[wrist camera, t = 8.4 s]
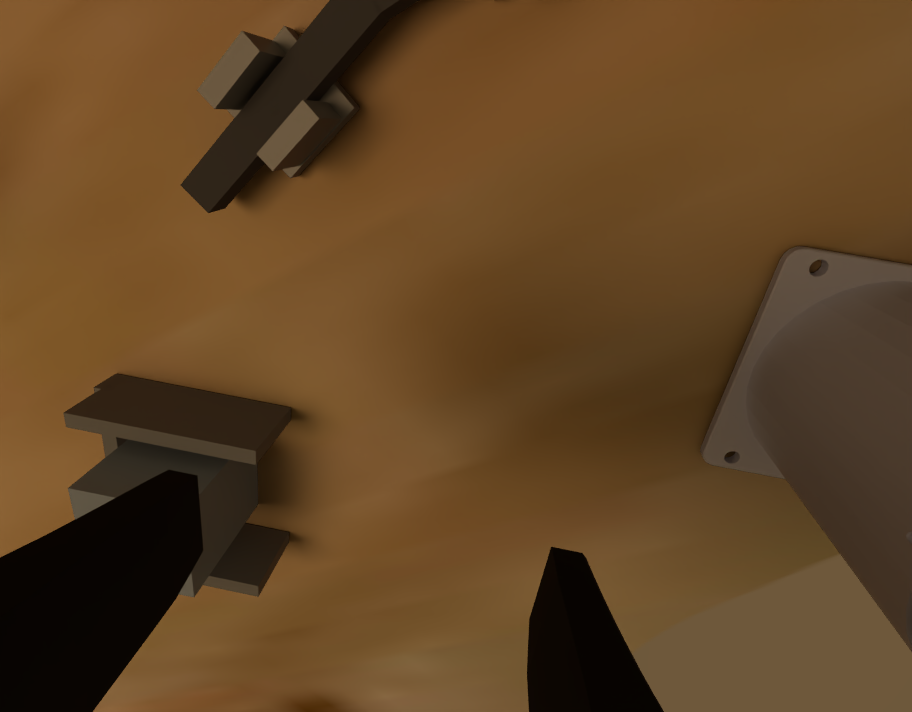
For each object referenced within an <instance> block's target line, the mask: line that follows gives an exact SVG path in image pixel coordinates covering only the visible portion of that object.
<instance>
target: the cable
mask: <svg viewBox="0 0 912 712" xmlns="http://www.w3.org/2000/svg"><path fill="white" fill-rule="evenodd" d="M417 1H419V0H330V1H329V2H328V3H327V4H326V6H325V7H324V8H323V9H322V11H321V12H320V13H319V14H318V15H317V17H316V18H315V19H314V20H313V22H312V23H311V24H310V25H309V27H308V28H307V29H306V30H305V32H304V33H303V34H302V35H301V37H300V38H299V39H298V40H297V41H296V43H295V44H294V45H293V46H292V48H291V49H290V50H289V51H288V53H287V54H286V55H285V56H284V58H283V59H282V60H281V61H280V63H279V64H278V65H277V66H276V67H275V69H274V70H273V71H272V72H271V74H270V75H269V76H268V77H267V79H266V80H265V81H264V82H263V84H262V85H261V86H260V87H259V89H258V90H257V91H256V92H255V93H254V95H253V96H252V97H251V98H250V100H249V101H248V102H247V103H246V105H245V106H244V107H243V108H242V110H241V111H240V112H239V113H238V115H237V116H236V117H235V118H234V119H233V121H232V122H231V123H230V124H229V126H228V127H227V128H226V129H225V131H224V132H223V133H222V134H221V136H220V137H219V138H218V139H217V140H216V142H215V143H214V144H213V145H212V147H211V148H210V149H209V150H208V152H207V153H206V154H205V155H204V157H203V158H202V159H201V160H200V162H199V163H198V164H197V165H196V166H195V168H194V169H193V170H192V171H191V173H190V174H189V175H188V176H187V178H186V179H185V180H184V181H183V183H182V184H181V186H182V187H183V188H184V189H185V190H186V191H187V192H188V193H189V194H190V195H191V196H192V197H193V198H194V199H195V200H196V201H197V202H198V203H199V204H200V205H201V206H202V207H203V208H204V209H205V210H206V211H207V212H208V213H211V212H214V211H217V210H221V209H224V208H226V207H227V206H228V204H229V203H230V202H231V201H232V200H233V199H234V198H235V196H236V195H237V194H238V193H239V192H240V191H241V189H242V188H243V187H244V186H245V185H246V184H247V183H248V181H249V180H250V179H251V178H252V177H253V176H254V175H255V173H256V172H257V171H258V170H259V169H260V168H261V167H262V165H263V164H264V161H263V160H262V159H261V158H260V157H259V156H258V155H257V152H258V151H259V150H260V149H261V148H262V147H263V145H264V144H265V143H266V142H267V141H268V140H269V138H270V137H271V136H272V135H273V134H274V133H275V131H276V130H277V129H278V128H279V127H280V126H281V124H282V123H283V122H284V121H285V120H286V119H287V117H288V116H289V115H290V114H291V113H292V112H293V110H294V109H295V108H296V107H297V106H298V105H299V103H300V102H301V101H302V100H310V101H319V100H320V99H321V98H322V97H323V95H324V94H325V93H326V92H327V91H328V90H329V89H330V87H331V86H332V85H333V84H334V83H335V82H336V81H337V79H338V78H339V77H340V76H341V75H342V74H343V73H344V71H345V70H346V69H347V68H348V67H349V66H350V65H351V63H352V62H353V61H354V60H355V59H356V58H357V56H358V55H359V54H360V53H361V52H362V51H363V50H364V48H365V47H366V46H367V45H368V44H369V43H370V42H371V40H372V39H373V38H374V37H375V36H376V35H377V34H378V32H379V31H380V30H381V29H382V28H383V27H384V26H385V24H386V23H387V22H388V21H389V20H390V19H391V18H393V17H394V16H396V15H397V14H399V13H400V12H402V11H403V10H405V9H406V8H408V7H410V6H411V5H413V4H414V3H416V2H417Z"/></svg>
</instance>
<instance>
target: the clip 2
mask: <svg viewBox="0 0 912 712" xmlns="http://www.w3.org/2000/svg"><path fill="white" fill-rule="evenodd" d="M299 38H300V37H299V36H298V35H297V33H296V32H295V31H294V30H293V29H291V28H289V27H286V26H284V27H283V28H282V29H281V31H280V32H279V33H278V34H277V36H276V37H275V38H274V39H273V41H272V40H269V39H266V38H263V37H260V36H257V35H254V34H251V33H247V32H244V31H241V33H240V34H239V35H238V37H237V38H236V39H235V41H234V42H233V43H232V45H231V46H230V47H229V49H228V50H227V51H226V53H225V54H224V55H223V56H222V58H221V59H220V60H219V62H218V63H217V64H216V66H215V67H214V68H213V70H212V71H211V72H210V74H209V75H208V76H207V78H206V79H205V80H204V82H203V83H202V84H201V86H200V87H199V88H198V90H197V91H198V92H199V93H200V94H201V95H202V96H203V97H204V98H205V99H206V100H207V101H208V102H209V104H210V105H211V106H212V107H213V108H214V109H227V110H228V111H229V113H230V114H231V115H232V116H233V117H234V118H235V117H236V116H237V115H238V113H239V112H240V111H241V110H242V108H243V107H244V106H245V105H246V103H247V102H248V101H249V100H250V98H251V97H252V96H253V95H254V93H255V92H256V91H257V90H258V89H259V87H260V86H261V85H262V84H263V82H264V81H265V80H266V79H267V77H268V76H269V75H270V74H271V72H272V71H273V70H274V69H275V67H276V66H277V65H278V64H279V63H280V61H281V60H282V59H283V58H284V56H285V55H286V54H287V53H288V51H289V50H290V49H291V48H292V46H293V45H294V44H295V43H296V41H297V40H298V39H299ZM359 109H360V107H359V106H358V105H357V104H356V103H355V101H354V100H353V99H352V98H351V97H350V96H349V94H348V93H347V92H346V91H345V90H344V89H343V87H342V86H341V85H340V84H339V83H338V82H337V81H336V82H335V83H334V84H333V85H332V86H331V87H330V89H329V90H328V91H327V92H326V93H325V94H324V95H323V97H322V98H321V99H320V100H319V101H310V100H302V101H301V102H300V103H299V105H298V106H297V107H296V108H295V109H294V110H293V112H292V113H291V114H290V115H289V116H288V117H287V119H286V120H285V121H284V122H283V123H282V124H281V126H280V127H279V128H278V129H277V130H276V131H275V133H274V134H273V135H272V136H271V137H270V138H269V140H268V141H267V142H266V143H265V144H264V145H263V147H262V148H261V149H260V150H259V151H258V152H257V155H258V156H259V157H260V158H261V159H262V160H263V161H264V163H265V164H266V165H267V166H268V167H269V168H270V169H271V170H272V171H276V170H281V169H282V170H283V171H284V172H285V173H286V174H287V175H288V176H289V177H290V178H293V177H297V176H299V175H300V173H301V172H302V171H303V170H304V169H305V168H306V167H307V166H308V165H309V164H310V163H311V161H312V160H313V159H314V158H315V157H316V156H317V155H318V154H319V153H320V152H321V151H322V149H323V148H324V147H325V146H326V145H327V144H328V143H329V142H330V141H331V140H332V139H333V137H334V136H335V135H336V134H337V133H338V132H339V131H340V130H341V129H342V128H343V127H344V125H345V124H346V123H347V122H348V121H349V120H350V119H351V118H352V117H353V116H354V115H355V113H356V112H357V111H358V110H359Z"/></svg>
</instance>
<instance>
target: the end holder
mask: <svg viewBox="0 0 912 712" xmlns="http://www.w3.org/2000/svg"><path fill="white" fill-rule="evenodd" d="M94 392H95V393H94V394H92V395H91V396H89V397H88V398H86V399H84V400H83V401H81V402H80V403H78V404H77V405H75V406H73V407H72V408H70V409H69V410H67V411H65V412H64V418H65V423H66V427H68V428H73V429H78V430H83V431H88V432H93V433H98V434H102V439H103V445H104V451H105V457H107V456H108V455H109V454H111V453H112V452H113V451H114V450H116V449H117V448H118V447H119V446H120V445H122V444H123V443H124V442H125V441H127V440H133V441H138V442H143V443H148V444H153V445H158V446H163V447H168V448H173V449H178V450H183V451H188V452H193V453H198V454H203V455H208V456H213V457H218V458H223V459H228V460H233V461H238V462H243V463H248V464H253V465H256V464H257V463H258V462H259V460H260V459H261V458H262V457H263V455H264V454H265V453H266V451H267V450H268V449H269V448H270V446H271V445H272V444H273V442H274V441H275V440H276V439H277V437H278V436H279V435H280V433H281V432H282V431H283V430H284V428H285V427H286V426H287V424H288V423H289V422H290V421H291V408H290V407H285V406H280V405H275V404H270V403H264V402H259V401H254V400H249V399H244V398H239V397H233V396H228V395H223V394H218V393H213V392H208V391H203V390H197V389H192V388H187V387H182V386H177V385H172V384H167V383H161V382H156V381H151V380H146V379H141V378H136V377H130V376H125V375H120V374H115V375H113V376H111V377H110V378H108V379H107V380H105V381H103V382H102V383H100V384H98V385H97V386H95V387H94ZM288 543H289V532H285V531H280V530H275V529H270V528H265V527H260V526H256V525H251V524H246V523H245V524H244V525H243V527H242V528H241V530H240V531H239V533H238V534H237V536H236V537H235V539H234V540H233V541H232V543H231V544H230V546H229V547H228V549H227V550H226V552H225V553H224V555H223V556H222V557H221V559H220V560H219V562H218V563H217V565H216V566H215V568H214V569H213V571H212V572H211V573H210V575H209V576H208V578H207V579H206V581H205V582H204V584H203V585H206V586H210V587H215V588H220V589H224V590H229V591H234V592H239V593H243V594H248V595H253V596H258V597H259V595H260V593H261V591H262V589H263V588H264V586H265V584H266V582H267V580H268V579H269V577H270V575H271V573H272V572H273V570H274V568H275V566H276V564H277V563H278V561H279V559H280V557H281V555H282V554H283V552H284V550H285V548H286V546H287V545H288Z"/></svg>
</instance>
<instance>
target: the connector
mask: <svg viewBox="0 0 912 712" xmlns="http://www.w3.org/2000/svg"><path fill="white" fill-rule="evenodd" d="M167 470H173V471H178V472H183V473H188V474H193V475H198V488H199V500H200V513H201V526H202V538H203V552H202V554H201V556H200V558H199V559H198V561H197V563H196V565H195V567H194V568H193V570H192V572H191V574H190V576H189V577H188V579H187V581H186V582H185V584H184V586H183V588H182V589H181V591H180V593H179V594H180V595H185V596H190V597H195V595H196V594H197V592H198V591H199V589H200V588H201V587H202V585H203V584H204V582H205V581H206V579H207V578H208V576H209V575H210V573H211V572H212V571H213V569H214V568H215V566H216V565H217V563H218V562H219V560H220V559H221V557H222V556H223V555H224V553H225V552H226V550H227V549H228V547H229V546H230V544H231V543H232V541H233V540H234V539H235V537H236V536H237V534H238V533H239V531H240V530H241V528H242V527H243V525H244V524H245V523H246V521H247V520H248V518H249V517H250V515H251V514H252V512H253V511H254V509H255V508H256V507H257V505H258V473H257V464H256V465H253V464H248V463H243V462H238V461H233V460H228V459H223V458H218V457H213V456H208V455H203V454H198V453H193V452H188V451H183V450H178V449H173V448H168V447H163V446H158V445H153V444H148V443H143V442H138V441H133V440H127V441H125V442H124V443H123V444H122V445H120V446H119V447H118V448H117V449H116V450H114V451H113V452H112V453H111V454H109V455H108V456H107V457H106V458H104V459H103V460H102V461H101V462H100V463H98V464H97V465H96V466H95V467H93V468H92V469H91V470H90V471H88V472H87V473H86V474H85V475H84V476H82V477H81V478H80V479H79V480H77V481H76V482H75V483H74V484H72V485H71V486H70V487H69V488H68V491H69V495H70V499H71V504H72V508H73V513H74V517H75V519H77V518H79V517H81V516H83V515H85V514H87V513H88V512H90V511H92V510H94V509H96V508H98V507H100V506H101V505H103V504H105V503H107V502H109V501H111V500H112V499H114V498H116V497H118V496H120V495H122V494H123V493H125V492H127V491H129V490H131V489H133V488H134V487H136V486H138V485H140V484H142V483H144V482H146V481H147V480H149V479H151V478H153V477H155V476H157V475H159V474H161V473H163V472H165V471H167Z"/></svg>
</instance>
